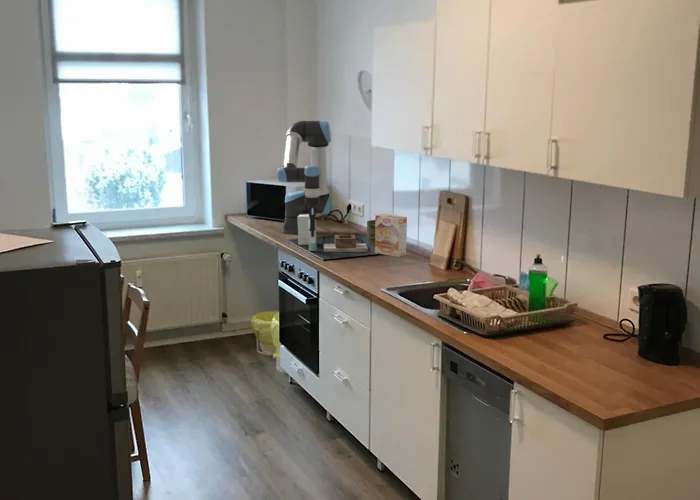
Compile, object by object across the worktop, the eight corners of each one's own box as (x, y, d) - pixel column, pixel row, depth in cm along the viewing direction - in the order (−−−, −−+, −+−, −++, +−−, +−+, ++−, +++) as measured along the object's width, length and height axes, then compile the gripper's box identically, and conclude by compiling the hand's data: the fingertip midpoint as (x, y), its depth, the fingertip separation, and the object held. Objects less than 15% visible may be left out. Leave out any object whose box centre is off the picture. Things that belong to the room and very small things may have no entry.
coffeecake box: (374, 253, 384) (374, 214, 380) (382, 250, 389) (383, 213, 385) (398, 257, 374) (399, 218, 370) (406, 254, 380) (407, 216, 376)
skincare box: (315, 242, 408) (314, 214, 405) (313, 245, 402) (313, 216, 398) (299, 242, 409) (299, 214, 406) (297, 245, 402) (297, 216, 399)
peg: (308, 250, 390) (308, 219, 386) (316, 250, 390) (316, 219, 387) (308, 251, 386) (308, 220, 382) (316, 251, 386) (316, 220, 383)
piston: (382, 224, 397) (363, 222, 402) (382, 246, 399) (363, 244, 404) (391, 221, 406) (372, 219, 412) (391, 243, 409) (372, 241, 414)
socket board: (323, 246, 399) (323, 234, 398) (365, 246, 400) (365, 233, 399) (324, 252, 385) (324, 239, 384) (367, 251, 387) (367, 239, 385)
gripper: (304, 194, 390) (305, 238, 395) (304, 198, 373) (305, 245, 378) (319, 194, 391) (319, 238, 395) (320, 198, 374) (320, 245, 379)
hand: (312, 242), depth 387 cm, fingers closed on peg, 4 cm apart
